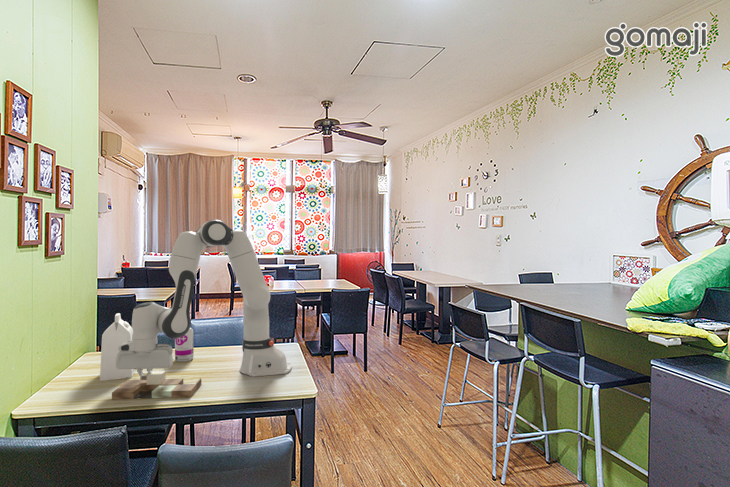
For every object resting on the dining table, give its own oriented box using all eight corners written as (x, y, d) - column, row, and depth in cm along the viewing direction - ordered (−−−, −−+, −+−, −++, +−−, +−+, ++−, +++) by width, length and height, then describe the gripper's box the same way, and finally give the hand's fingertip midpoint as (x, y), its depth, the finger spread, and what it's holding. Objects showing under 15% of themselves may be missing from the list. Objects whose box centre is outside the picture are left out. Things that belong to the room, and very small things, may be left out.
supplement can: (187, 362, 197) (187, 330, 197) (171, 361, 198) (171, 330, 198) (196, 357, 205) (196, 327, 205) (181, 356, 207) (181, 326, 206)
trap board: (201, 384, 169) (201, 378, 169) (191, 397, 156) (191, 390, 156) (128, 386, 166) (128, 379, 166) (111, 399, 153) (111, 392, 153)
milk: (104, 372, 183) (104, 312, 183) (134, 368, 188) (134, 311, 187) (99, 381, 172) (99, 317, 172) (131, 377, 177) (131, 315, 176)
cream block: (165, 379, 166) (165, 371, 166) (160, 384, 162) (160, 375, 161) (152, 380, 166) (152, 371, 166) (146, 384, 161) (146, 375, 161)
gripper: (175, 341, 167) (175, 376, 168) (121, 342, 166) (121, 377, 166) (169, 346, 161) (169, 381, 161) (113, 346, 159) (113, 383, 160)
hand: (144, 379), depth 164 cm, fingers closed
